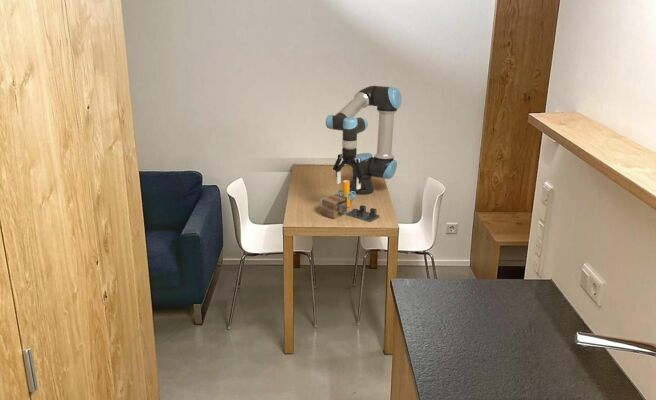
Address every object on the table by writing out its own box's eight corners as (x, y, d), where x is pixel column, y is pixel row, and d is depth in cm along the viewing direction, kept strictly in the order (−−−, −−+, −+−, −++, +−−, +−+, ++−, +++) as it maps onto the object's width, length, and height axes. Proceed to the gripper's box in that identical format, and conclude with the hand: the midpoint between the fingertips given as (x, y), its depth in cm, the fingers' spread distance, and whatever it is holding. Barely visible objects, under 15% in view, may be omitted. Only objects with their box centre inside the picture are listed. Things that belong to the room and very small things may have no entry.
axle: (324, 204, 345) (324, 197, 344) (346, 210, 337) (346, 203, 335) (319, 206, 342) (320, 199, 341) (341, 212, 333) (341, 205, 332)
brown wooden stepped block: (335, 209, 347) (335, 194, 343) (346, 213, 342) (347, 197, 339) (322, 215, 338) (322, 199, 335) (333, 219, 333) (333, 203, 330)
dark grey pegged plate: (355, 210, 346) (356, 203, 344) (379, 217, 337) (379, 210, 335) (346, 215, 339) (346, 207, 338) (369, 222, 330) (370, 214, 328)
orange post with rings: (352, 210, 346) (353, 185, 341) (334, 208, 348) (335, 183, 343) (356, 203, 358) (357, 178, 353) (338, 201, 360) (339, 177, 355)
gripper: (326, 144, 326) (326, 182, 333) (363, 153, 311) (362, 192, 318) (335, 142, 331) (335, 179, 339) (372, 150, 316) (371, 189, 323)
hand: (348, 186), depth 328 cm, fingers open, 13 cm apart
